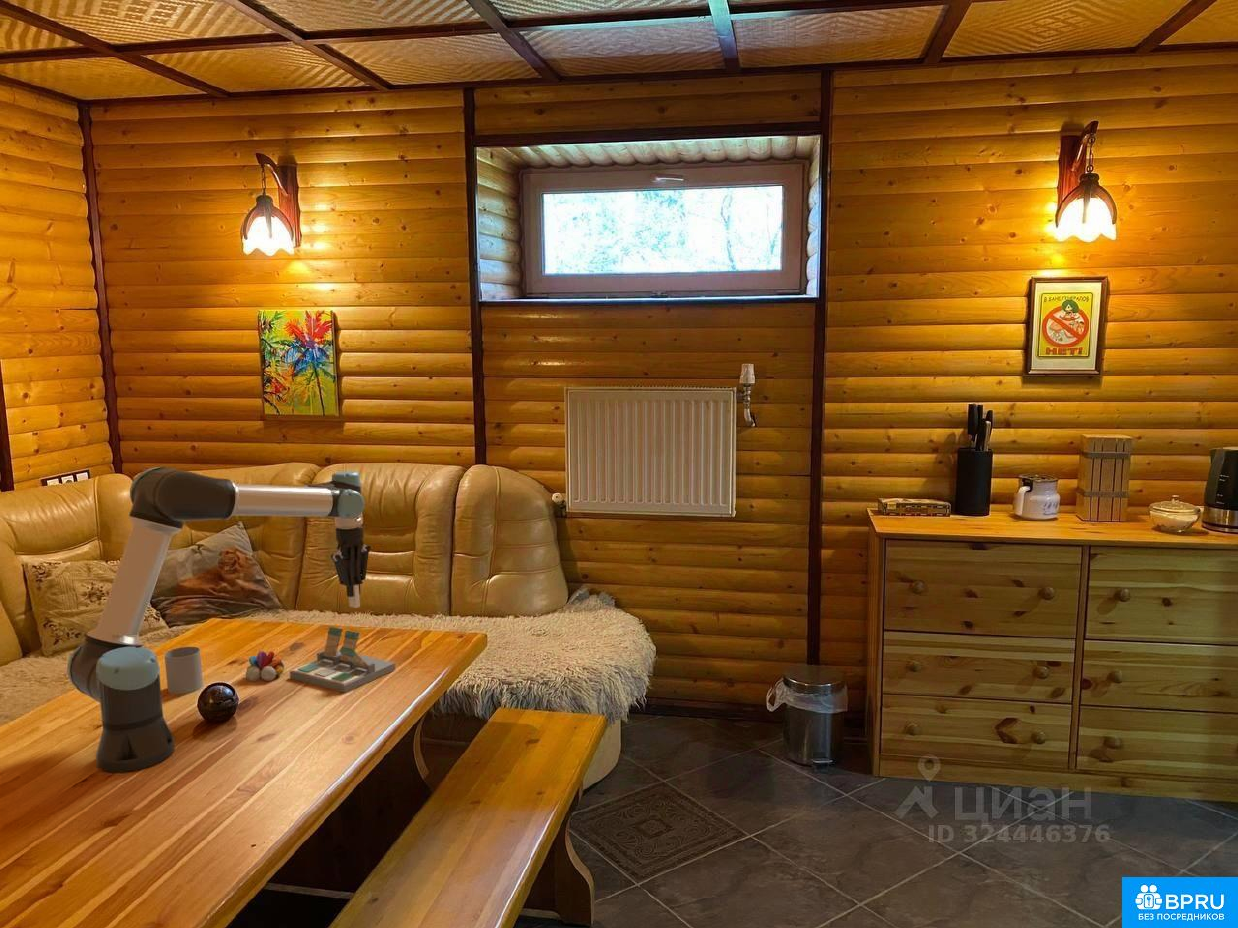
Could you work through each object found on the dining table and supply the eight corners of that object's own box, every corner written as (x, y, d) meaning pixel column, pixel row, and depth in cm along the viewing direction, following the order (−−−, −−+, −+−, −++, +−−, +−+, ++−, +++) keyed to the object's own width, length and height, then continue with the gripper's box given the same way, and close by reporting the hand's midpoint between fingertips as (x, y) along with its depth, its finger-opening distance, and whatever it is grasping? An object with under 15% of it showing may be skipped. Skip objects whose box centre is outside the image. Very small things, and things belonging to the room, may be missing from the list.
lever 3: (368, 671, 235) (350, 653, 229) (356, 668, 237) (338, 650, 231) (370, 666, 236) (353, 649, 230) (359, 663, 238) (341, 646, 232)
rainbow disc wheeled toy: (277, 682, 234) (275, 656, 233) (241, 683, 234) (239, 657, 233) (289, 670, 242) (287, 645, 241) (254, 671, 242) (253, 645, 241)
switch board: (345, 692, 226) (344, 677, 225) (290, 678, 237) (289, 663, 236) (395, 669, 241) (394, 655, 241) (341, 656, 252) (340, 642, 251)
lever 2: (348, 665, 238) (356, 632, 239) (337, 662, 240) (345, 630, 242) (352, 665, 239) (360, 632, 241) (341, 662, 241) (348, 630, 243)
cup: (209, 682, 234) (206, 646, 233) (191, 694, 226) (188, 658, 225) (179, 681, 235) (176, 646, 234) (160, 694, 227) (157, 657, 226)
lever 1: (332, 661, 241) (339, 628, 243) (321, 658, 243) (328, 626, 245) (335, 661, 242) (343, 629, 244) (324, 658, 244) (332, 626, 246)
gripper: (340, 532, 239) (346, 615, 242) (376, 522, 250) (380, 602, 253) (321, 529, 242) (327, 611, 246) (357, 520, 254) (362, 598, 257)
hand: (354, 606), depth 250 cm, fingers closed
